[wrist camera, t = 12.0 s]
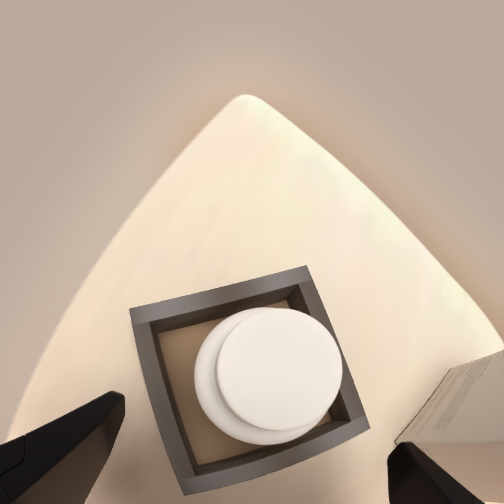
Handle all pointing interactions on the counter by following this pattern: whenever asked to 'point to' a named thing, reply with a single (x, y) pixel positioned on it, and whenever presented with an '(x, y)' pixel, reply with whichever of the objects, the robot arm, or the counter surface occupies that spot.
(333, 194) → the counter surface
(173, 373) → the tray
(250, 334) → the supplement bottle
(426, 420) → the supplement box
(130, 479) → the counter surface
